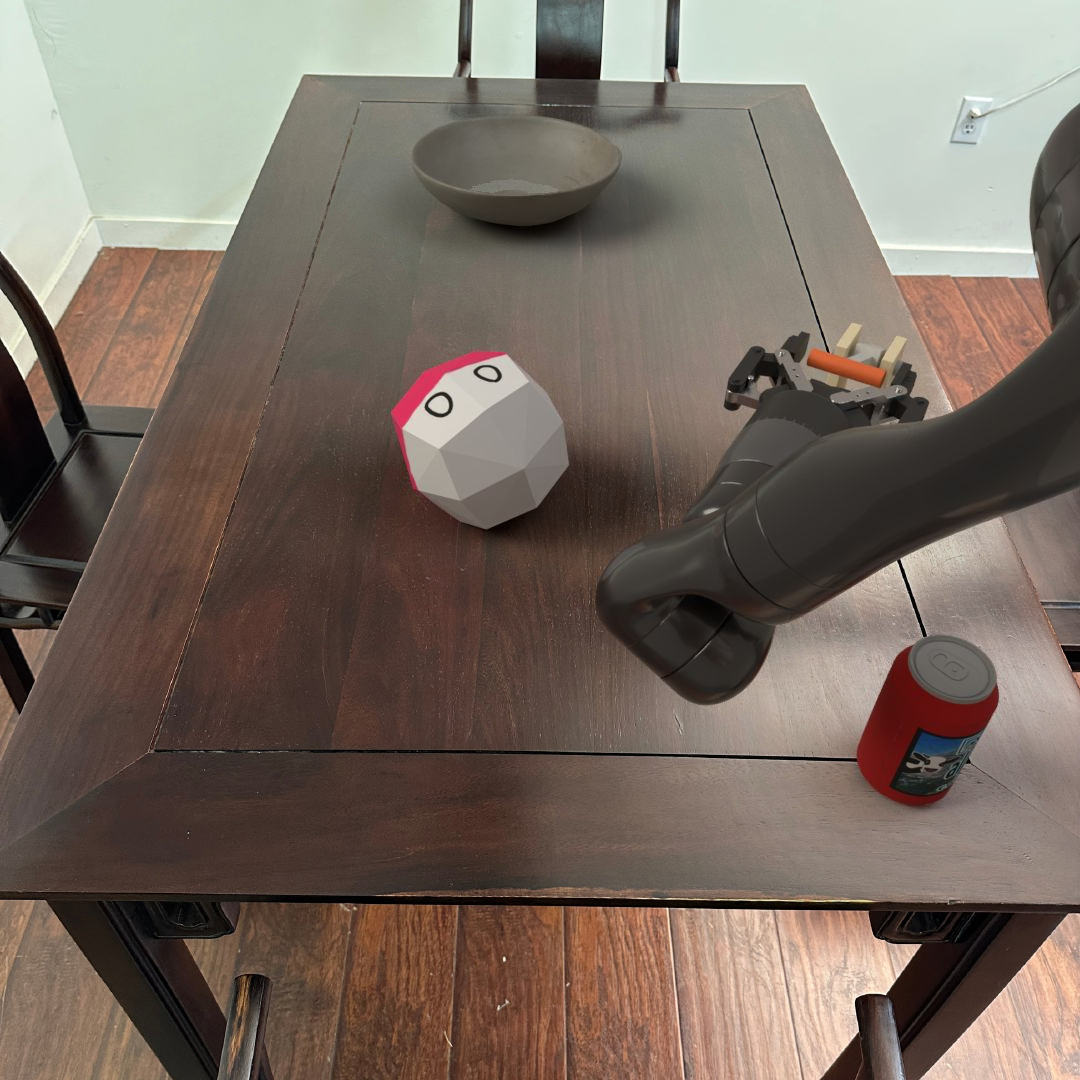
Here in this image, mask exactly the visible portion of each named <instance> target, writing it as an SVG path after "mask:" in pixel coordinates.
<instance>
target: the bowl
mask: <svg viewBox="0 0 1080 1080" xmlns="http://www.w3.org/2000/svg"><path fill="white" fill-rule="evenodd" d="M622 159H623V154H622V150H620V148H619V147H618V146H616V145H615V144H614V143H613V142H612V141H611V140H610V139H609V138H607V137H606V136H604V135H603V134H601V133H600V132H598V131H597V130H595V129H593V128H591V127H588V126H585V125H583V124H580V123H577V122H573V121H568V120H565V119H561V118H560V119H559V118H555V117H549V116H543V115H542V116H540V115H528V114H527V115H526V114H500V115H490V116H480V117H472V118H468V119H467V118H466V119H461V120H457V121H453V122H449V123H446V124H443V125H440V126H438V127H436V128H434V129H432V130H430V131H428V132H427V133H425V134H424V135H423V136H421V137H420V138H419V139H418V140H417V141H416V143H415V144H414V146H413V148H412V150H411V155H410V160H411V161H410V162H411V166H412V169H413V171H414V173H415V175H416V177H417V178H418V180H419V182H420V183H421V184H422V186H423V187H424V188H425V189H426V190H427V191H428V192H429V193H430V194H431V195H432V196H433V197H434V198H435V199H436V200H437V201H439V202H440V203H441V204H443V205H444V206H445V207H447V208H448V209H450V210H451V211H453V212H455V213H458V214H460V215H463V216H465V217H469V218H472V219H476V220H478V221H483V222H487V223H492V224H498V225H507V226H515V227H534V226H540V225H546V224H551V223H554V222H557V221H560V220H562V219H564V218H566V217H569V216H571V215H573V214H576V213H578V212H580V211H582V210H583V209H584V208H586V207H587V206H588V205H590V204H591V203H592V202H593V201H594V200H595V199H597V197H598V196H599V195H601V193H602V192H603V191H604V190H605V189H606V188H607V187H608V185H609V184H610V183H611V182H612V180H614V178H615V176H616V174H617V173H618V171H619V168H620V167H621V163H622ZM508 179H513V180H524V181H528V182H530V183H535V184H542V185H549V186H552V187H553V188H556V189H558V191H557V192H549V193H532V192H527V191H521V190H502V191H498V192H495V193H489V192H481V191H474V190H470V189H472V188H473V187H472V186H477V185H478V186H479V184H480V185H481V184H484V183H492V182H490V181H495V180H497V181H498V180H508ZM474 188H475V187H474ZM533 225H534V226H533Z"/></svg>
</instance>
